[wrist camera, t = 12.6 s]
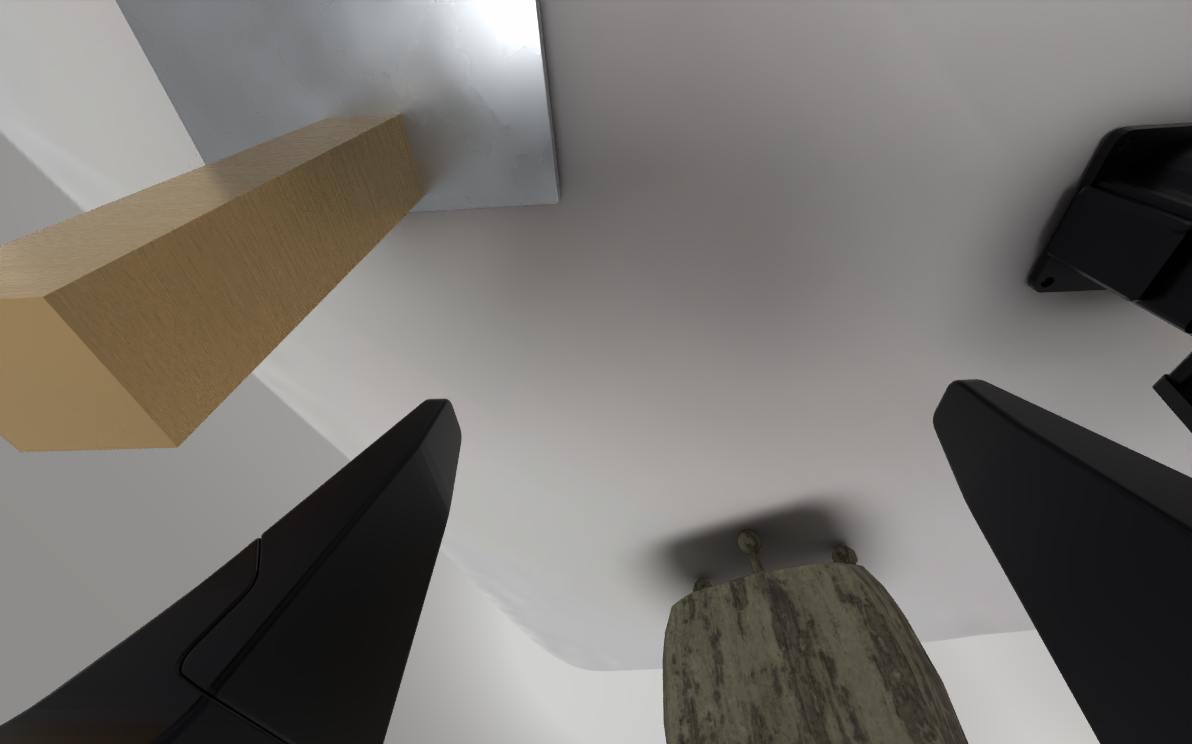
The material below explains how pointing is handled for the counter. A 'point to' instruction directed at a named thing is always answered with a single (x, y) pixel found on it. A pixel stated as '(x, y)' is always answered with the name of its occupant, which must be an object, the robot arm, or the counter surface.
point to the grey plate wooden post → (263, 200)
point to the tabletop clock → (800, 661)
